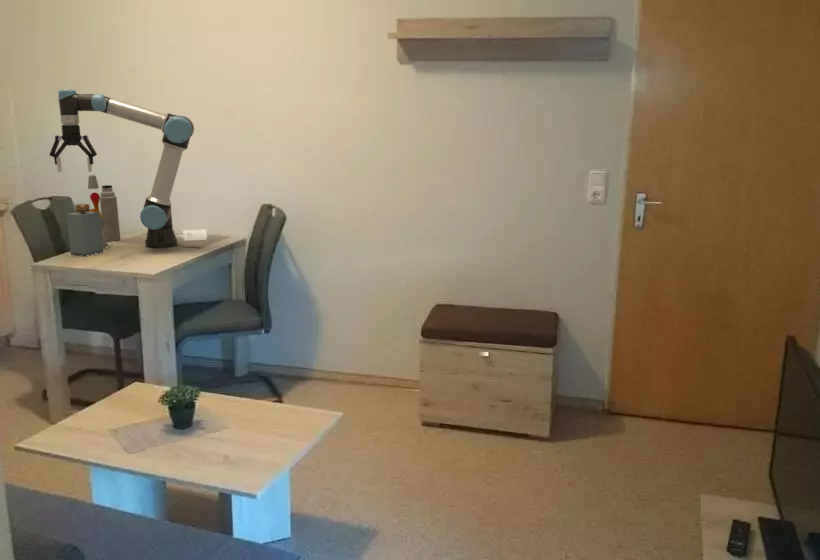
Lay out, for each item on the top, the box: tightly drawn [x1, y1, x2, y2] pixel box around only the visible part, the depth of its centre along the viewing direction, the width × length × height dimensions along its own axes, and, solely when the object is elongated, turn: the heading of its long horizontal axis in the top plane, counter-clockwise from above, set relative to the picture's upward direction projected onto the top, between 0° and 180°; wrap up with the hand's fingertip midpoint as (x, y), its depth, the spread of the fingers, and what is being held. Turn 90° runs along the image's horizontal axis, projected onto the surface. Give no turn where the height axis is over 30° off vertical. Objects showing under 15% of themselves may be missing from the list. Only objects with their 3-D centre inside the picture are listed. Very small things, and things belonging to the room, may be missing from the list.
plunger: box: [74, 203, 91, 214], centre depth 358 cm, size 8×8×22 cm
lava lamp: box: [87, 174, 109, 249], centre depth 371 cm, size 9×9×35 cm
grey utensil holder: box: [66, 211, 104, 257], centre depth 358 cm, size 10×10×19 cm
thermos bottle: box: [99, 184, 121, 243], centre depth 390 cm, size 8×8×28 cm
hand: (75, 171), depth 353 cm, fingers open, 13 cm apart
